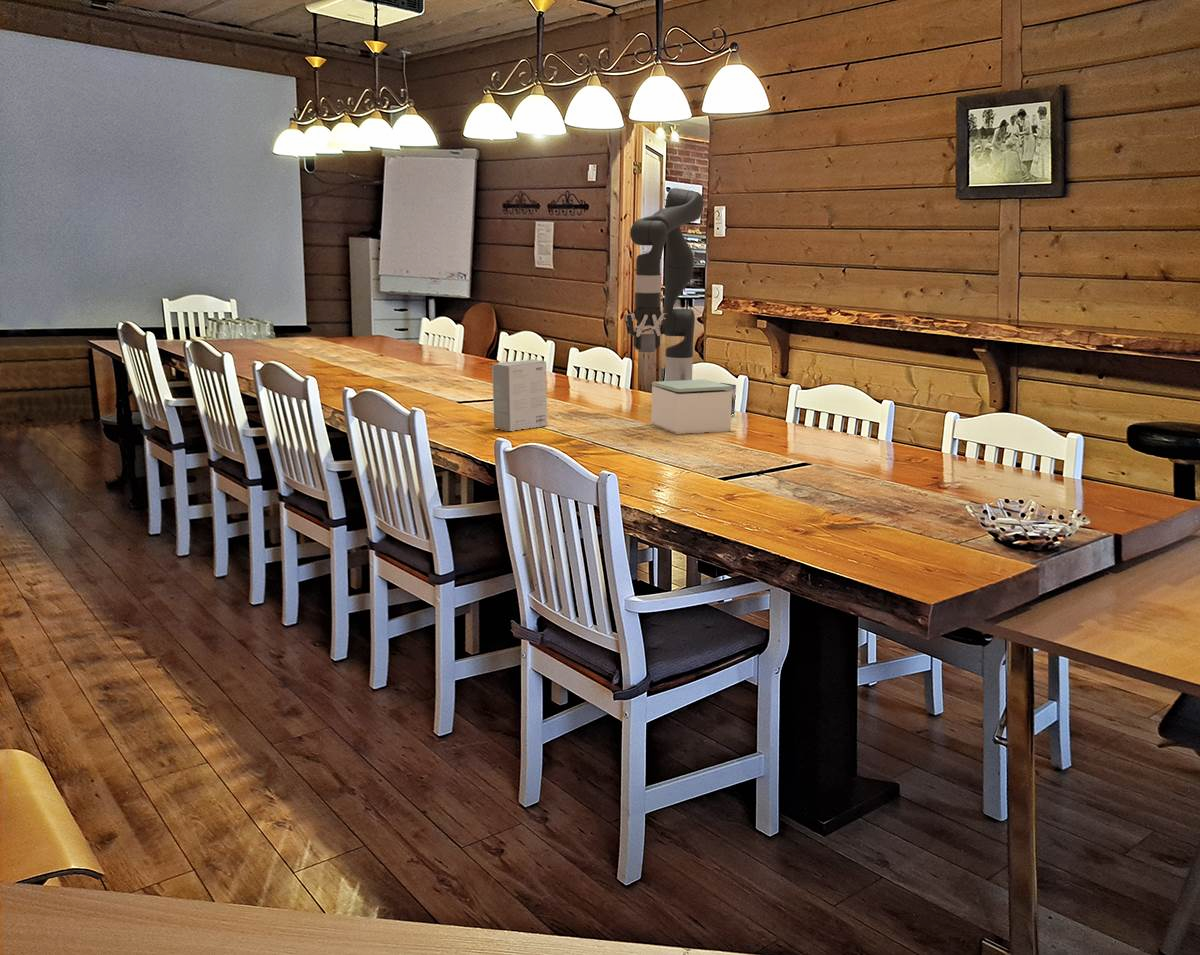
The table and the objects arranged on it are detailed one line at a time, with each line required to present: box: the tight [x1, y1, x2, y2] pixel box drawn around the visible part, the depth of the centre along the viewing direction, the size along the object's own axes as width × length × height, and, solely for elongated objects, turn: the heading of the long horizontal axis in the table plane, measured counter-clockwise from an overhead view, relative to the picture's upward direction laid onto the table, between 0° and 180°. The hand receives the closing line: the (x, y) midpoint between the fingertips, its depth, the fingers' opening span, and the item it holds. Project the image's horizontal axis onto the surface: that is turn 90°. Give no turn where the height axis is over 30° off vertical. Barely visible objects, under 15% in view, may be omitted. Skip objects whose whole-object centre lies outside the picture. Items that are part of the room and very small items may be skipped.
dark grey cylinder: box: [637, 332, 656, 353], centre depth 313 cm, size 5×5×5 cm
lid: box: [651, 379, 732, 392], centre depth 322 cm, size 18×18×1 cm
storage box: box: [650, 385, 732, 435], centre depth 323 cm, size 18×18×12 cm
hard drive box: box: [491, 358, 548, 432], centre depth 320 cm, size 16×8×20 cm, turn 135°
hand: (646, 348), depth 313 cm, fingers closed on dark grey cylinder, 5 cm apart
